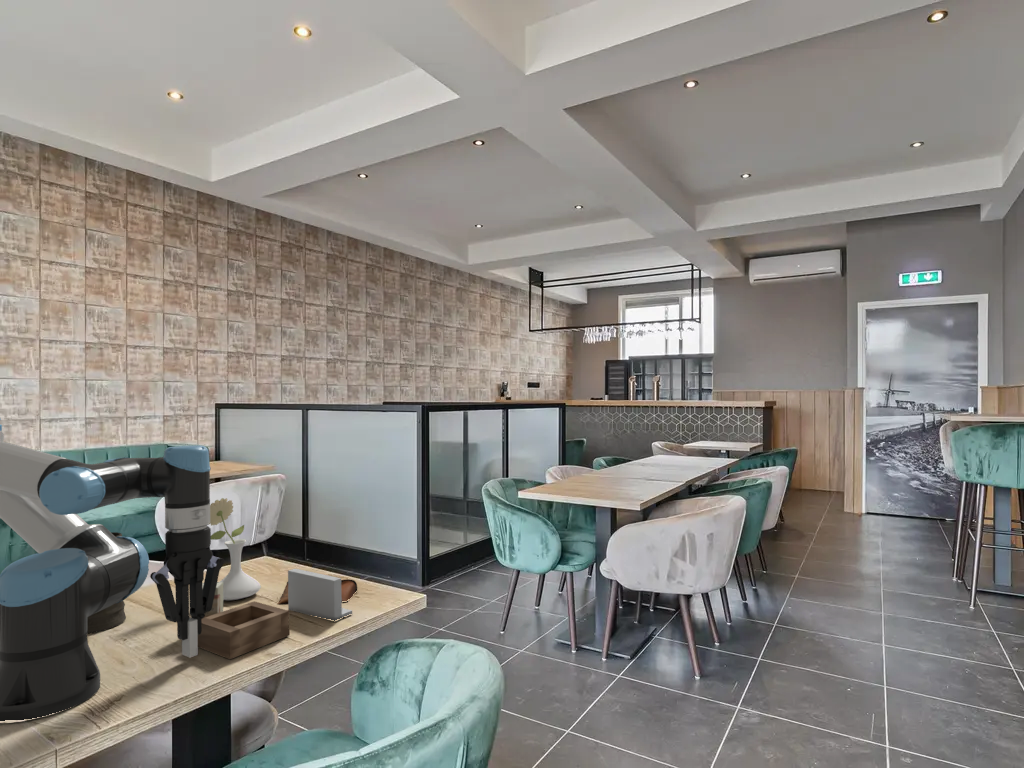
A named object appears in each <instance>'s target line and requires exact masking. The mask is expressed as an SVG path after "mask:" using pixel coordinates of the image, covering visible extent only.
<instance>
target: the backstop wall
mask: <svg viewBox="0 0 1024 768" xmlns="http://www.w3.org/2000/svg"><path fill="white" fill-rule="evenodd" d="M341 580H342V578H341V577H337V576H332V575H327V574H322V573H318V572H313V571H308V570H304V569H299V568H293V569H289V570H287V582H288V604H287V605H288V607H287V608H288V611H292V612H295V613H300V614H304V615H306V616H310V615H312V616H311V617H314V616H317V617H316V618H318V617H321V618H326V619H331V620H334V621H335V620H337V619H340V618H342V617H344V616H347V615H349V614H352V615H353V610H352V609H348V608H344V607H342V606H343V605H342V604H343V603H342V597H341ZM321 618H320V619H321Z"/></svg>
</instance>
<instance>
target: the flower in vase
mask: <svg viewBox="0 0 1024 768" xmlns="http://www.w3.org/2000/svg"><path fill="white" fill-rule="evenodd" d="M233 508H234V503H233V500H232V499H231V500H230V499H229V500H228V498H223V497H222V498H221V499H220V500H219V499H216V500H215V501H214V502H211V503H210V524H208V525H210V526H217V525H218V524H222V523H223V527H224V531H223V530H217V531H215V532H214V533H211V541H213V540H215V541H216V540H221V539H222V538H223V537H224V536H225V535H227V536H228V537H229V539H230V540H226V541H225V542H224V545H225V546H226V547H227V549H228V552H229V555H230V557H229V558H230V569H229V572H228V574H227V575H226V576H224V578H223V579H221V580H220V581H219V582H223V601H235V600H236V601H237V600H241V599H244V598H248V597H251V596H253V595H255V594H257V593H258V592H259V591H260V589H261V588H262V586H261V583H260V582H259V581H258V580H257V579H255V578H254V577H252V576H251V575H249V574H247V573H246V572H245V571H243V569H242V564H241V563H242V561H241V560H242V552H243V548H244V545H245V544H246V543H247V539H244V538H237V539H233V538H236V537H237V536H240V535H241V534H242V533H244V530H245V524H243V525H241V526H240V527H238V528H235V529H233V531H232V532H231V534H230V533H229V532H228V530H227V526H226V522H225V521H227V520H228V519H229V516H230V517H231V514H232V513H233V512H234V510H233ZM208 525H207V526H208Z"/></svg>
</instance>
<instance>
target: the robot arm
mask: <svg viewBox="0 0 1024 768" xmlns="http://www.w3.org/2000/svg"><path fill="white" fill-rule="evenodd" d="M0 421H2V419H1V417H0ZM2 429H3V425H2V424H1V423H0V519H1V520H2V521H3V522H4V523H5V524H6V525H7V526H9V527H10V529H12V531H14V533H16V534H17V535H18V536H20V538H22V540H24V541H25V542H26V543H27V544H28V545H29V546H30V548H32V549H33V550H34V551H35V552H37V553H33V554H30V555H27V556H25V557H24V556H23V557H21V558H19V559H17V560H15V561H13V562H11V563H10V564H8V565H7V566H6V567H5V568H4V569H3V570H2V571H1V573H0V721H5V720H24V719H32V718H37V717H42V716H46V715H49V714H52V713H56V712H59V711H62V710H65V709H67V710H69V709H68V708H70V707H72V708H74V707H76V706H78V705H80V704H82V703H84V702H86V701H87V700H89V699H91V698H92V697H93V696H94V695H95V694H97V692H98V691H99V690H100V688H101V671H100V668H99V667H98V666H99V665H98V664H97V662H96V660H95V657H94V654H93V653H92V650H91V648H90V645H89V641H88V633H87V617H89V616H91V615H93V614H95V613H97V612H99V611H101V610H103V609H105V608H107V607H109V606H111V605H113V604H115V603H119V602H121V601H124V600H126V599H128V598H129V597H130V596H131V595H133V594H134V593H136V592H137V591H139V590H140V588H142V586H143V585H144V583H145V582H146V579H147V577H148V575H149V570H150V568H149V563H150V558H149V554H148V551H147V549H146V547H145V546H144V545H143V544H142V543H141V542H140V541H139V540H138V539H135V538H134V537H130V536H122V537H121V536H119V537H115V536H114V535H113V534H112V533H111V531H110V530H109V529H108V528H107V527H105V525H103V524H100V523H96V524H95V523H93V524H88V523H87V521H85V520H84V519H83V518H82V517H80V516H79V515H80V514H83V513H86V512H89V511H91V510H95V509H99V508H103V507H105V506H109V505H115V504H118V503H119V504H120V503H123V502H126V501H130V500H135V499H144V498H146V499H147V498H163V499H164V528H165V529H166V530H167V531H166V532H165V534H164V537H165V539H164V540H165V541H164V543H165V553H166V555H165V558H164V560H163V566H161V568H159V570H157V571H153V572H151V574H150V575H149V577H150V579H151V580H152V581H153V582H154V583H155V585H156V589H157V592H158V594H159V599H160V602H161V605H162V611H163V612H164V613H163V614H164V617H165V619H166V621H169V622H173V623H176V624H177V630H176V631H177V639H179V640H181V655H182V656H185V657H187V658H192V657H195V656H198V655H199V654H198V653H199V647H198V635H199V634H201V631H202V626H201V625H202V620H201V619H203V618H204V617H205V614H204V613H206V612H209V611H211V609H212V605H213V600H214V596H215V591H216V586H217V582H219V581H218V580H219V577H220V575H219V574H220V571H221V569H222V567H223V565H224V563H225V559H224V558H221V557H217V556H214V555H213V551H212V550H211V543H212V540H211V535H212V531H211V530H212V528H211V527H210V526H208V524H209V525H211V524H210V505H211V498H210V494H211V493H210V492H211V491H210V490H211V488H210V487H211V486H210V485H211V484H210V483H211V481H210V478H211V474H210V473H211V472H210V471H211V464H210V455H209V454H210V453H209V449H208V448H207V447H206V446H205V445H199V444H197V445H196V444H195V445H180V446H179V445H177V446H169V447H167V448H165V449H164V453H163V456H162V457H161V456H160V457H129V456H128V457H126V456H125V457H116V458H109V459H105V460H104V461H103V462H99V463H93V464H91V463H85V462H82V461H77V460H74V459H69V458H66V457H63V456H59V455H55V454H53V453H48V452H45V451H40V450H36V449H33V448H29V447H25V446H22V445H18V444H14V443H10V442H7V441H4V440H5V435H4V432H3V431H2ZM205 570H206V571H205ZM204 571H205V574H204ZM169 574H170V575H171V576H172V577H173V584H174V585H175V586H174V588H175V597H174V592H173V590H172V586H171V583H170V582H169V578H170V576H169ZM202 583H204V585H203V590H202ZM73 706H74V707H73ZM70 709H71V708H70ZM65 711H66V710H65ZM62 712H63V711H62ZM59 713H60V712H59Z"/></svg>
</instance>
